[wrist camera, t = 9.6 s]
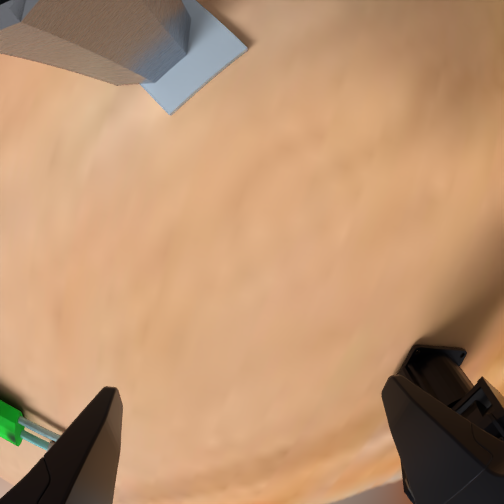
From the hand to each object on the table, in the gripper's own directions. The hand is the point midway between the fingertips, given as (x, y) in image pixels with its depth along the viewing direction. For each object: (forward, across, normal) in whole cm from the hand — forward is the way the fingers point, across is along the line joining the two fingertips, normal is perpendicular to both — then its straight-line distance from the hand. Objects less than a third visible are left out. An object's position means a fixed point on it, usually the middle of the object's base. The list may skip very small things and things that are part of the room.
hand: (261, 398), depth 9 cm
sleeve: (+14, +6, -13) cm, 20 cm away
